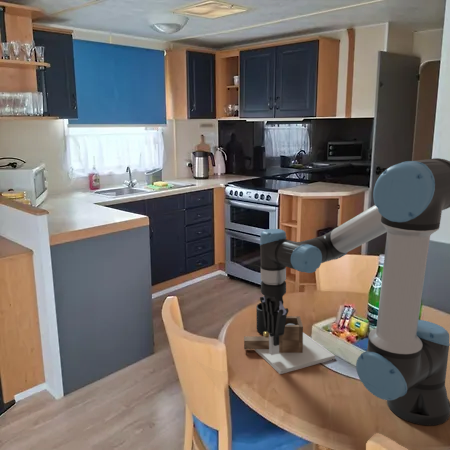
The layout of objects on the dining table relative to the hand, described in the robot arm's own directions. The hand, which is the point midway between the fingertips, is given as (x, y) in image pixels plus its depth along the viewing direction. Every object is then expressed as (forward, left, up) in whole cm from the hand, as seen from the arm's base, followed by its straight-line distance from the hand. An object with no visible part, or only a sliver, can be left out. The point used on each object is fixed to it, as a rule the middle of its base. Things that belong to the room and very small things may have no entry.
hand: (274, 353), depth 138 cm
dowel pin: (+10, -3, -2) cm, 11 cm away
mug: (+22, -10, -4) cm, 24 cm away
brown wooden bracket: (+7, -4, -2) cm, 8 cm away
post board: (+4, -8, -3) cm, 10 cm away
